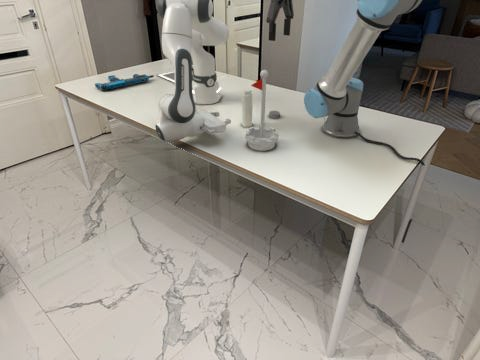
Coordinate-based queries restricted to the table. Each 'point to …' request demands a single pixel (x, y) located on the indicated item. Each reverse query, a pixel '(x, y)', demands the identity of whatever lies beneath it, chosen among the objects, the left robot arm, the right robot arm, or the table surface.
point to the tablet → (168, 76)
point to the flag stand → (262, 123)
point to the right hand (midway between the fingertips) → (279, 37)
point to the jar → (247, 108)
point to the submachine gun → (122, 81)
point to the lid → (274, 114)
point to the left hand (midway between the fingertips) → (224, 117)
